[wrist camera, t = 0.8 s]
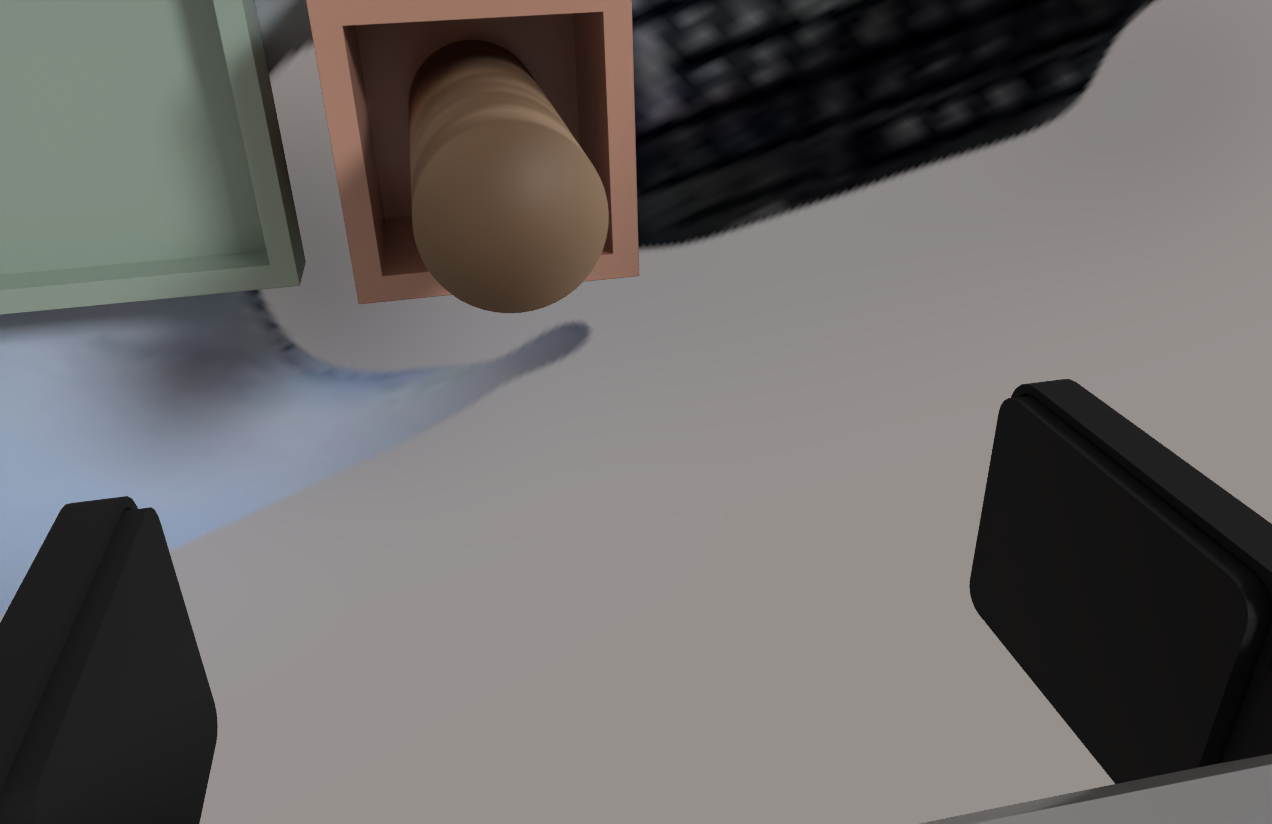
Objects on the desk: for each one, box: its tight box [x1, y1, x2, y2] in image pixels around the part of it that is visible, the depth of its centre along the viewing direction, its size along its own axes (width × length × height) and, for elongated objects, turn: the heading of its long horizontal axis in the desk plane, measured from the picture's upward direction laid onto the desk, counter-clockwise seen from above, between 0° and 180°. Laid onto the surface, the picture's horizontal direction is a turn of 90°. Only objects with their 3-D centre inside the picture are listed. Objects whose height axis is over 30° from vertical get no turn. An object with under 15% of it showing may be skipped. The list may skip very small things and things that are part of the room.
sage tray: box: [0, 0, 305, 315], centre depth 30 cm, size 13×12×2 cm
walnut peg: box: [409, 40, 609, 313], centre depth 28 cm, size 4×4×13 cm
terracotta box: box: [306, 0, 639, 304], centre depth 31 cm, size 9×9×6 cm
